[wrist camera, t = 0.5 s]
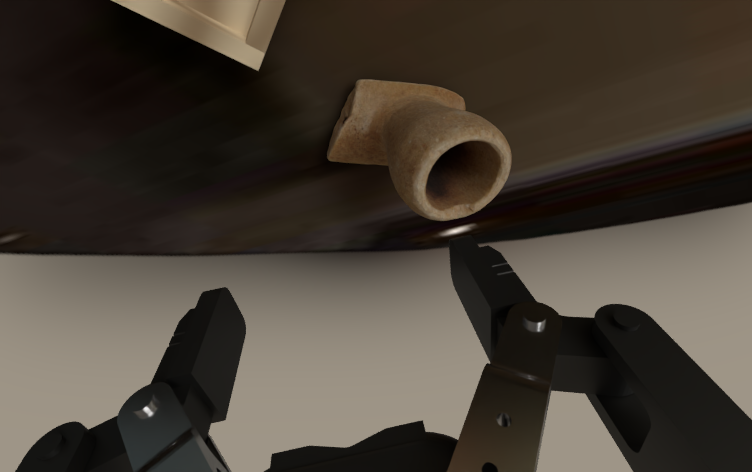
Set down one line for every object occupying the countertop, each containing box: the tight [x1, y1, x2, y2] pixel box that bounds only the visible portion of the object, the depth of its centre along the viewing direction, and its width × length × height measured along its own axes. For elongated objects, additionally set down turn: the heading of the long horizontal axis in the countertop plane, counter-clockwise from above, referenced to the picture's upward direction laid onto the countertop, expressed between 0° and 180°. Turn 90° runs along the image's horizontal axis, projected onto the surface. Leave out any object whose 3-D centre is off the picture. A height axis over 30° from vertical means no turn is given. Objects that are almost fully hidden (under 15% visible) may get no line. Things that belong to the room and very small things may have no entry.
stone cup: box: [327, 79, 512, 221], centre depth 35 cm, size 15×12×15 cm
